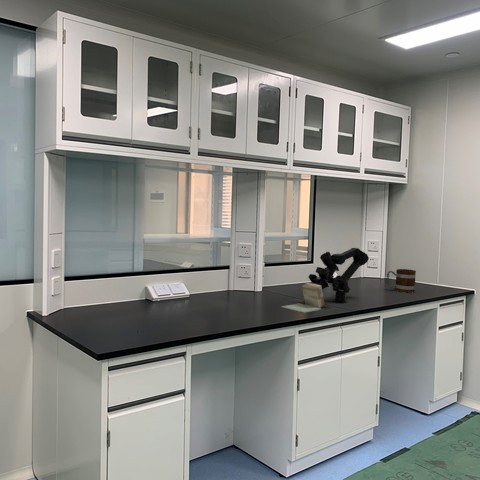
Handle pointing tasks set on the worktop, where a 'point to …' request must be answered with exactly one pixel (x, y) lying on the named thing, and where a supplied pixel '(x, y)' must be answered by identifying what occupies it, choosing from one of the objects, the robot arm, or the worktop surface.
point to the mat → (301, 308)
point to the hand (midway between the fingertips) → (316, 291)
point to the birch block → (313, 295)
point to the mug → (403, 280)
